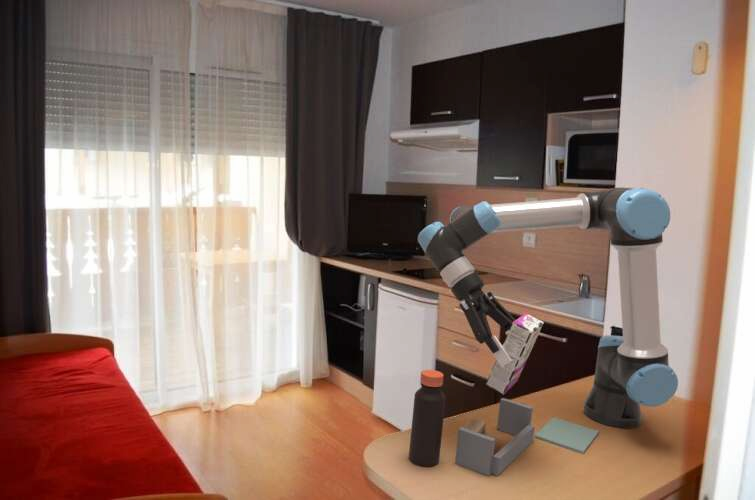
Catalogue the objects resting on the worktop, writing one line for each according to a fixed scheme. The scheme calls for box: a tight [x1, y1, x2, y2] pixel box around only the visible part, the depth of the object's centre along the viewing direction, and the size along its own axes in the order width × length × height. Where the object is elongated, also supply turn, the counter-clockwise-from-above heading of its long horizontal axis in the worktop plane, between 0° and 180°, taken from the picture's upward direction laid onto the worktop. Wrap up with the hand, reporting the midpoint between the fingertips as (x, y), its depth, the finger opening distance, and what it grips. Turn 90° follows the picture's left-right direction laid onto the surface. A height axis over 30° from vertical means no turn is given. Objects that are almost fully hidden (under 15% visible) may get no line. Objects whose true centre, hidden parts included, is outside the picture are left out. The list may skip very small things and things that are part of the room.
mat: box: [534, 416, 600, 455], centre depth 144 cm, size 12×15×1 cm
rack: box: [454, 397, 536, 477], centre depth 132 cm, size 10×25×8 cm, turn 145°
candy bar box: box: [485, 313, 545, 396], centre depth 129 cm, size 11×5×16 cm, turn 151°
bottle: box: [408, 369, 447, 467], centre depth 124 cm, size 7×7×20 cm
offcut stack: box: [463, 418, 488, 436], centre depth 134 cm, size 4×8×5 cm, turn 151°
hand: (517, 358), depth 128 cm, fingers closed on candy bar box, 11 cm apart
